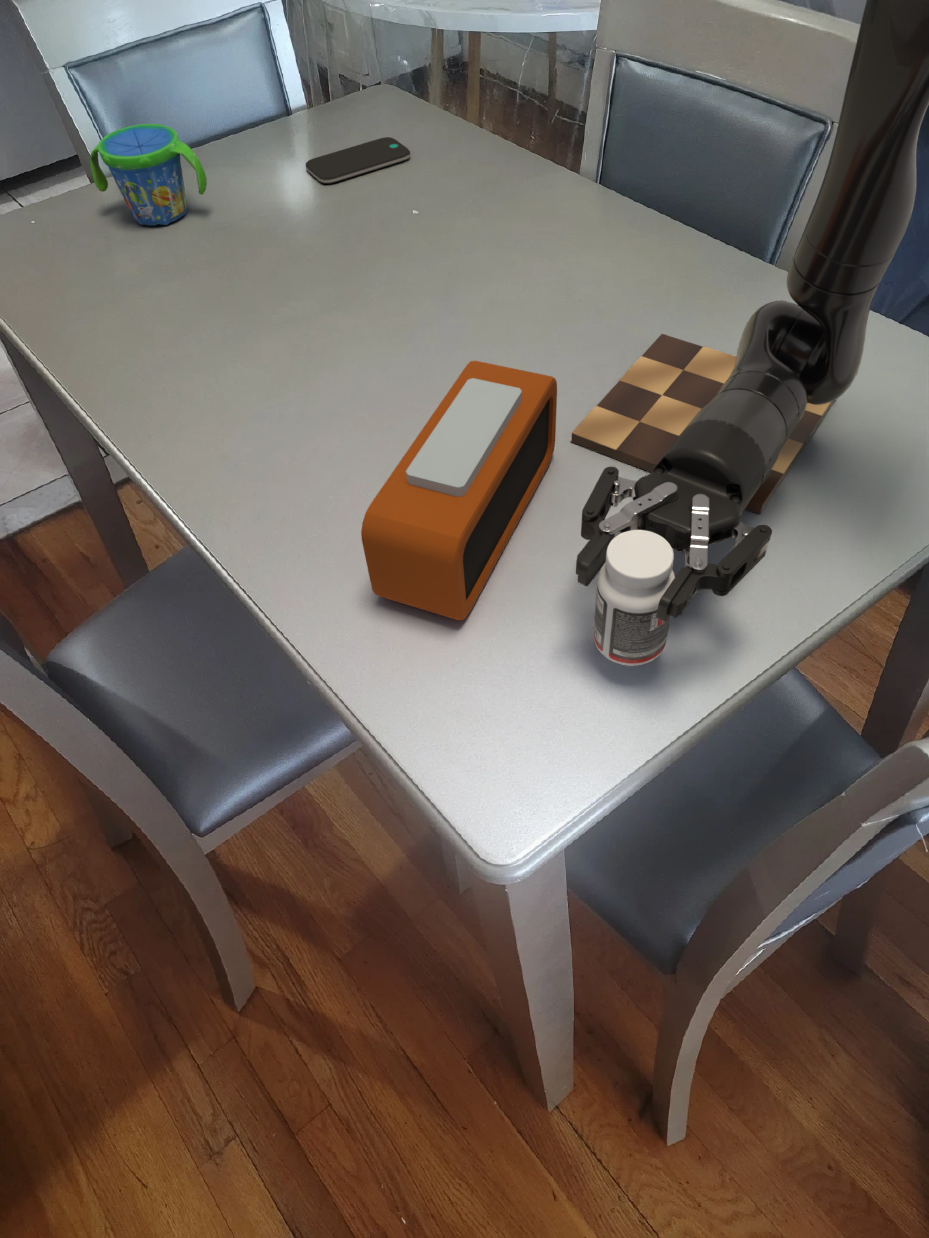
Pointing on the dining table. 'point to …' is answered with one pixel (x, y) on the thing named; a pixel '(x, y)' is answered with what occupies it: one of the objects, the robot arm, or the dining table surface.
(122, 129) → the snack cup
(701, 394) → the chessboard
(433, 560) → the alarm clock
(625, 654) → the pill bottle
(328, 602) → the dining table surface
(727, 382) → the robot arm
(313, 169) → the smartphone
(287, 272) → the dining table surface
